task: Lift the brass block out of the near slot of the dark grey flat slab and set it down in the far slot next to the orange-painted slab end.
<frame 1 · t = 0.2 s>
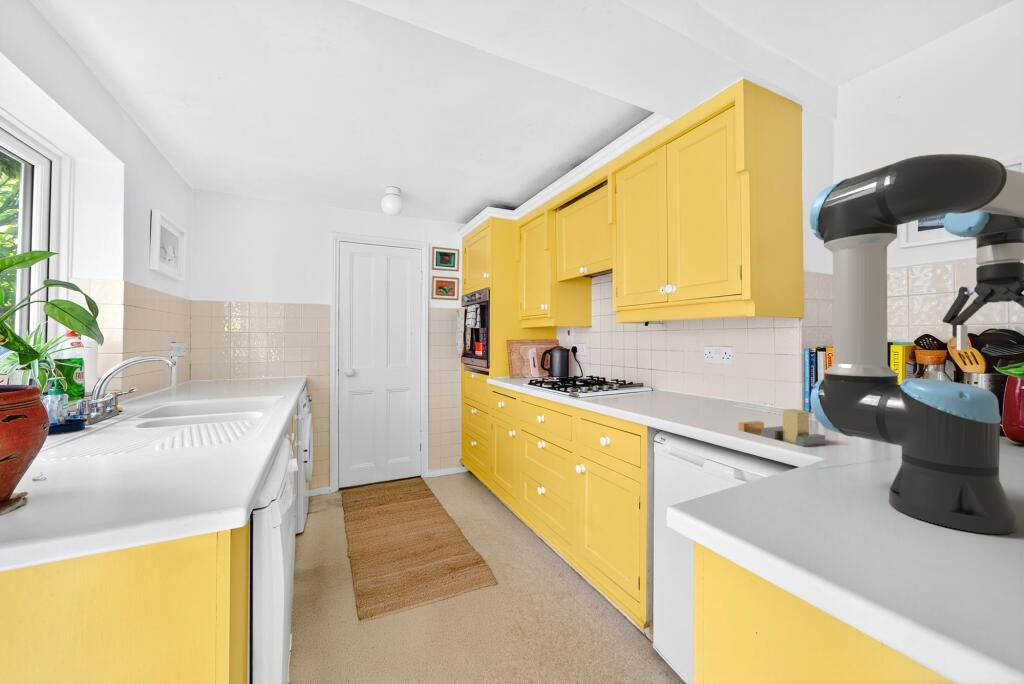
hand: (999, 351, 99), 28 cm above the counter, fingers open, 13 cm apart
brass block: (795, 440, 120), resting on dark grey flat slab
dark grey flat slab: (778, 437, 125), on the counter
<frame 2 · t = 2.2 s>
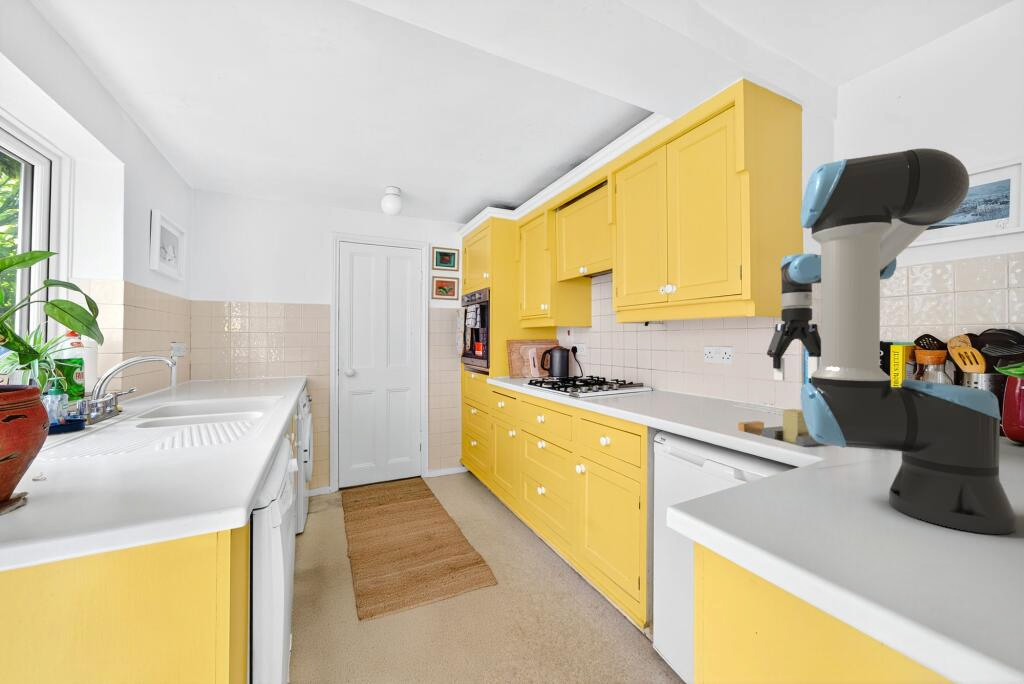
hand: (796, 379, 120), 19 cm above the counter, fingers open, 13 cm apart
nothing on the counter moved.
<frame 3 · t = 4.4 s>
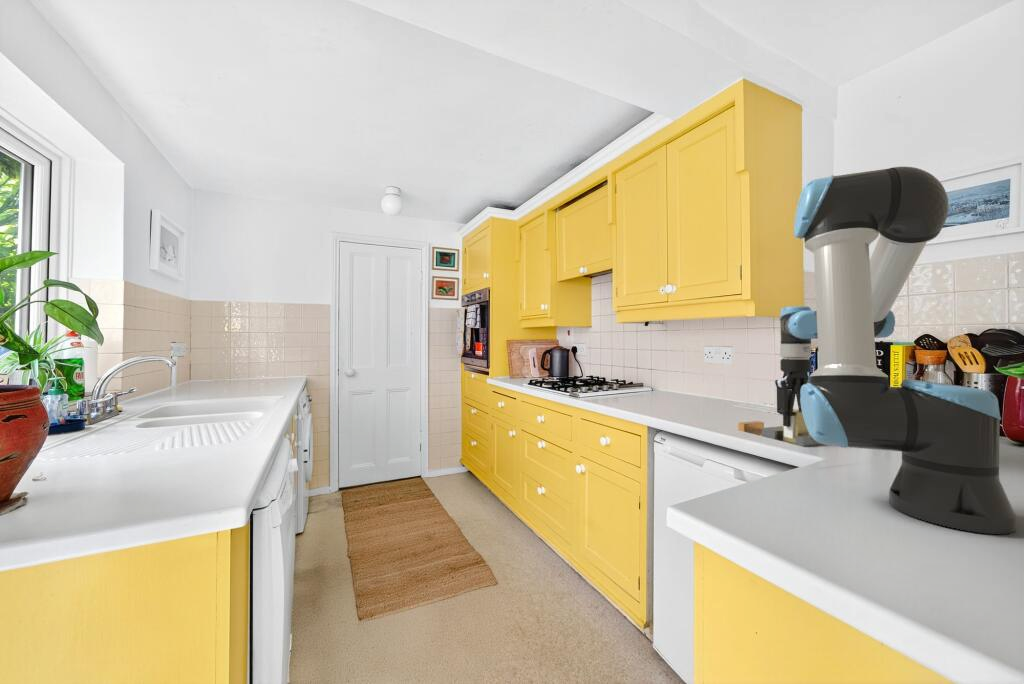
hand: (795, 436, 120), 2 cm above the counter, fingers closed on brass block, 4 cm apart
brass block: (795, 440, 120), resting on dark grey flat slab, touching gripper
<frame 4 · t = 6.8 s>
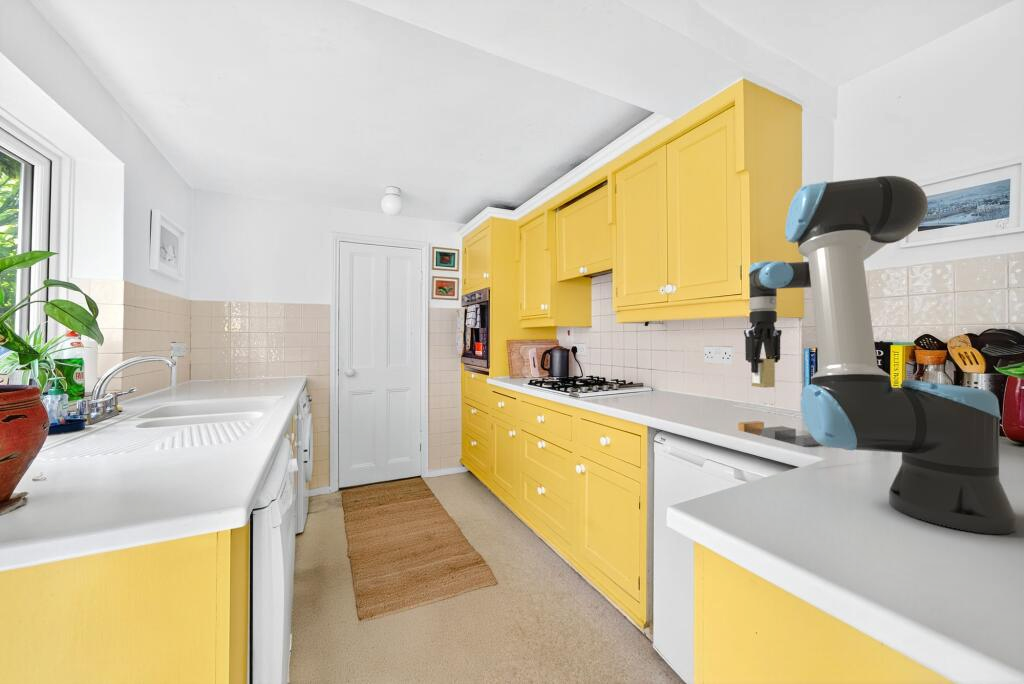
hand: (763, 382, 131), 17 cm above the counter, fingers closed on brass block, 4 cm apart
brass block: (763, 386, 131), point 15 cm above the counter, touching gripper
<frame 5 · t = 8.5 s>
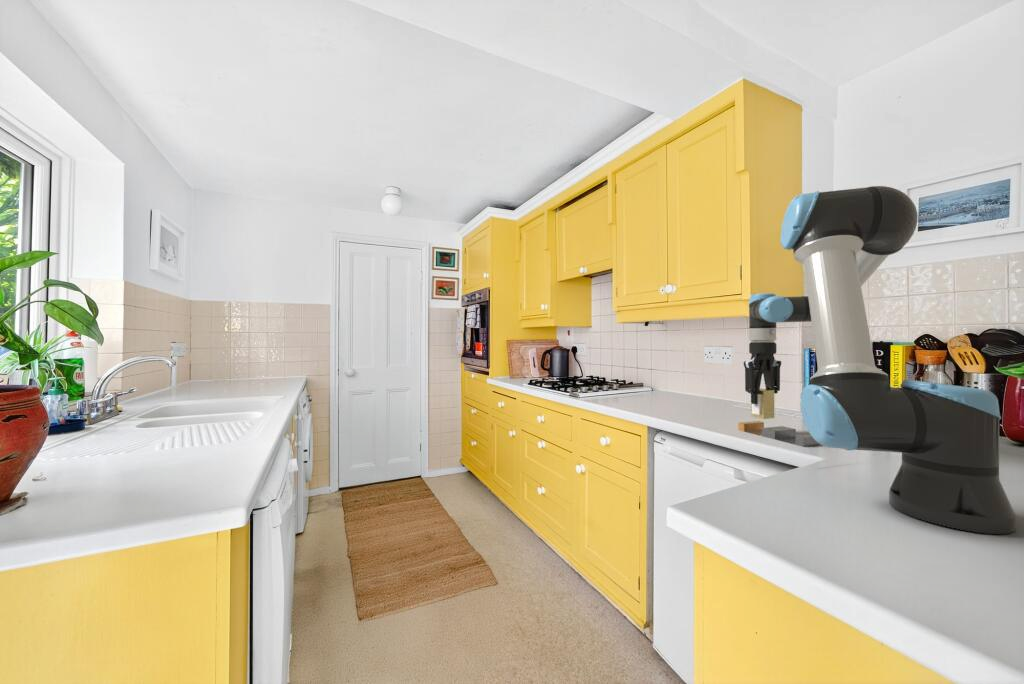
hand: (762, 413, 131), 7 cm above the counter, fingers closed on brass block, 4 cm apart
brass block: (762, 417, 131), point 5 cm above the counter, touching gripper
when the fingers open (3 cm above the counter, at t = 9.5 s): brass block drops 1 cm, resting on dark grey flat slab.
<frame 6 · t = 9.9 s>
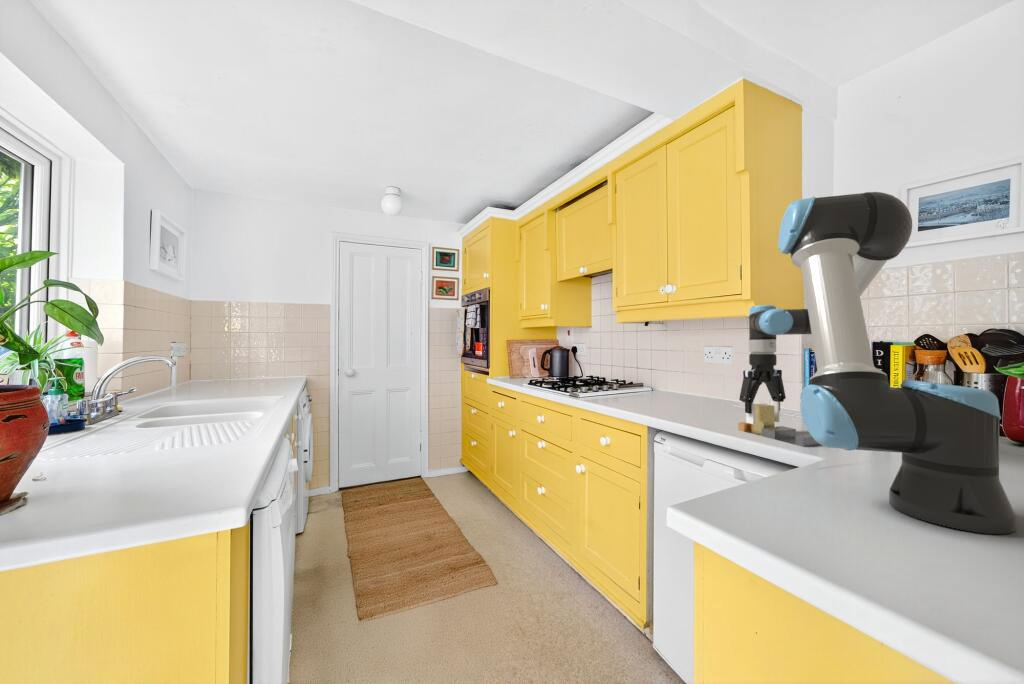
hand: (762, 422, 131), 4 cm above the counter, fingers open, 9 cm apart
brass block: (762, 432, 131), resting on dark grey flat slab
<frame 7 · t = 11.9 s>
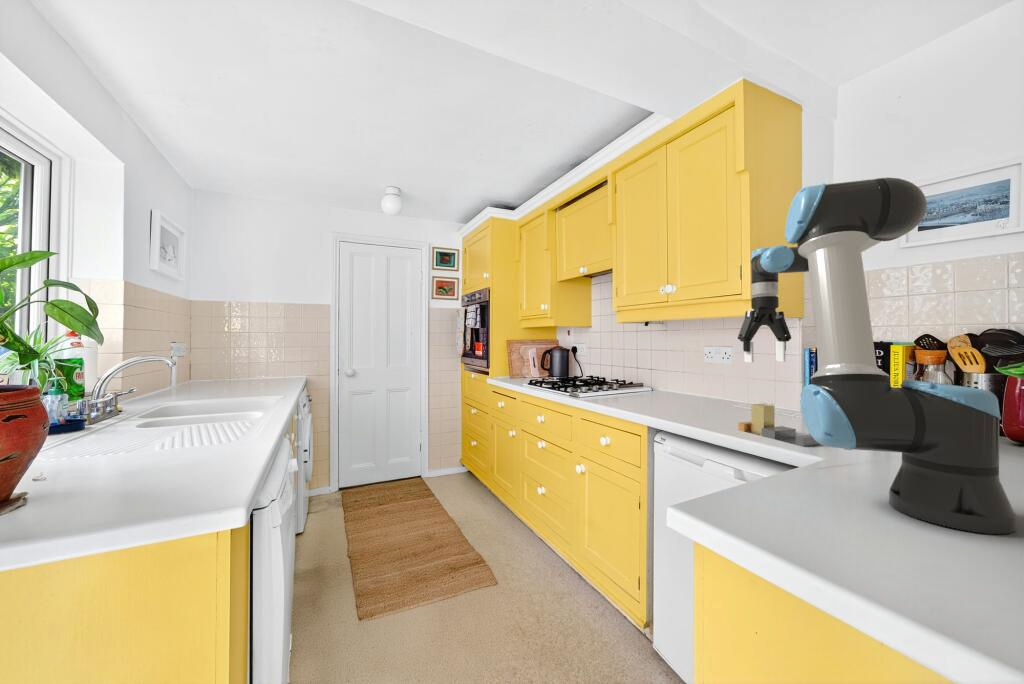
hand: (765, 361, 131), 23 cm above the counter, fingers open, 13 cm apart
nothing on the counter moved.
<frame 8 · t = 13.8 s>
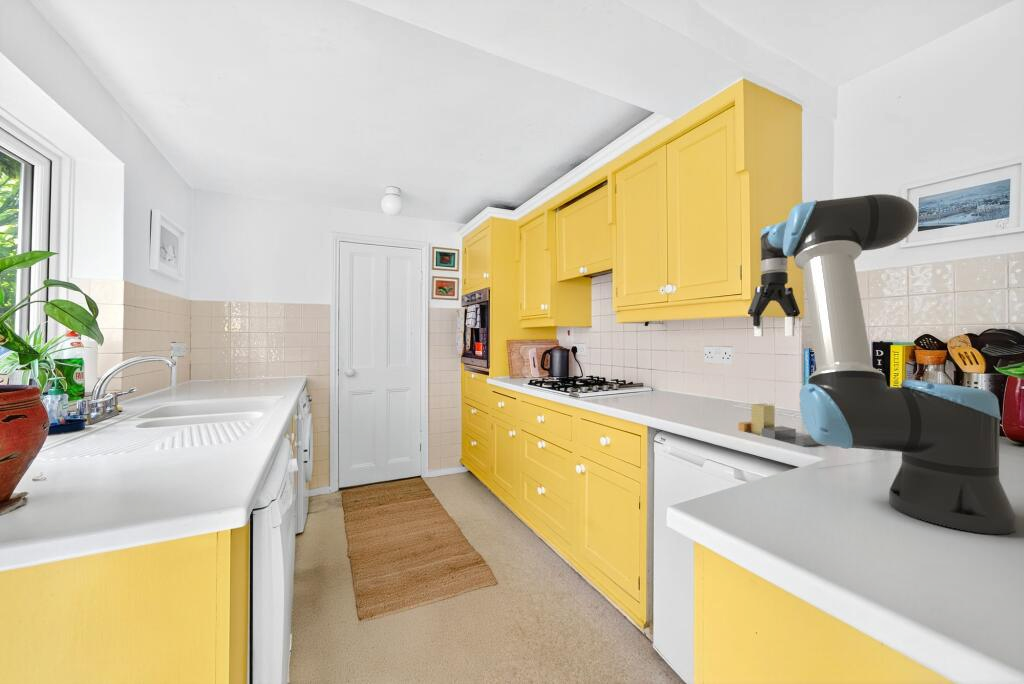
hand: (774, 336, 135), 32 cm above the counter, fingers open, 13 cm apart
nothing on the counter moved.
at the end: brass block 0.0 cm from the target spot on the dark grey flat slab, point 0.4 cm above the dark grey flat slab's base; brass block tilted 0°; the gripper is holding nothing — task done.
